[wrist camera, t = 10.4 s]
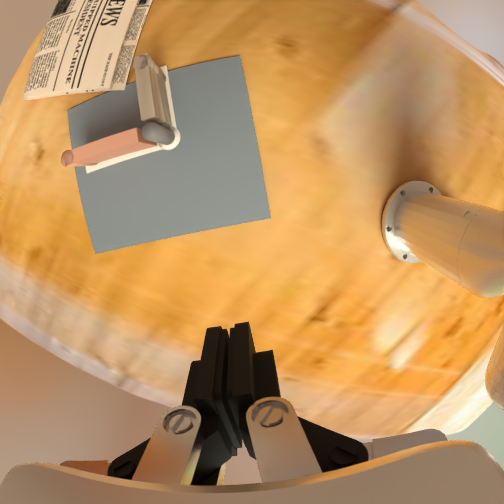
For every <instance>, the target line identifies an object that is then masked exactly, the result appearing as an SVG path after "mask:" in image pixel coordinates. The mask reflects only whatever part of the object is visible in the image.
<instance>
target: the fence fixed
mask: <svg viewBox="0 0 504 504" xmlns="http://www.w3.org/2000/svg"><path fill="white" fill-rule="evenodd" d="M133 68H134V69H135V76H136V85H137V93H138V101H139V108H140V115H141V120H142V121H144V122H147V123H149V122H155V123H157V124H159V125H161V126H163V127H168V126H172V121H171V115H170V109H169V103H168V97H167V90H166V83H165V82H166V76H165V75H164V72H163V71H162V69H161V68H160V67H159V66H158V65H157V64H156V63H155V61H154V60H153V59H152V58H151V57H150V56H149V55H148V54H147V53H145V54H142V55H140V56H137V57H134V61H133Z"/></svg>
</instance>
